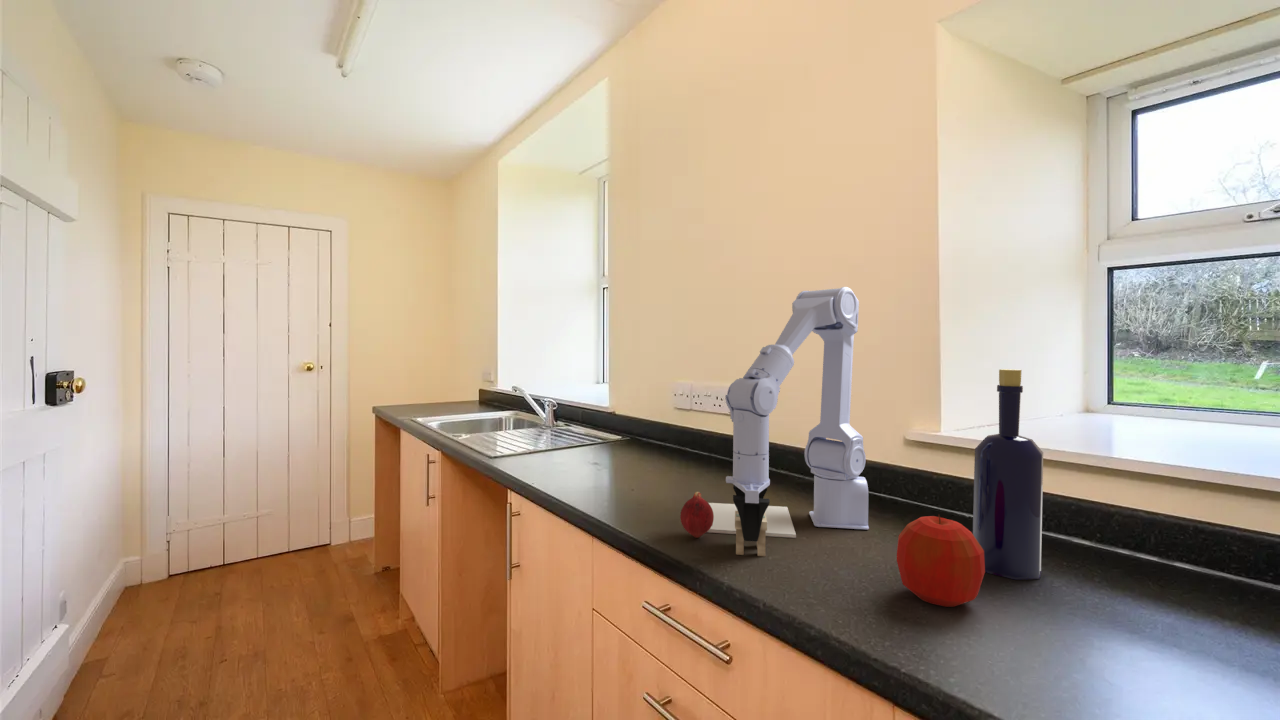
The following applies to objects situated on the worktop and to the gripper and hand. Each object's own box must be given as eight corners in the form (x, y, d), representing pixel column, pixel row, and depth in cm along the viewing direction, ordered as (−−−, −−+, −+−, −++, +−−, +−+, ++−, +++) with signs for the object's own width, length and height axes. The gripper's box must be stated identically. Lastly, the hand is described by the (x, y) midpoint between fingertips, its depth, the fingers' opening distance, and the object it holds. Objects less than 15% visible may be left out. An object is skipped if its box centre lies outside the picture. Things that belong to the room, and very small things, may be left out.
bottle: (1030, 559, 84) (1035, 368, 83) (1054, 584, 75) (1059, 371, 74) (963, 552, 87) (967, 367, 86) (979, 575, 78) (983, 370, 77)
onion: (712, 545, 90) (712, 498, 90) (678, 542, 91) (678, 496, 91) (714, 533, 95) (714, 488, 95) (682, 530, 97) (682, 487, 96)
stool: (764, 545, 90) (765, 511, 90) (766, 557, 85) (766, 521, 85) (734, 543, 91) (734, 510, 90) (734, 554, 86) (734, 519, 86)
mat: (787, 509, 109) (787, 506, 109) (795, 537, 93) (795, 534, 93) (708, 505, 112) (708, 502, 112) (703, 532, 96) (703, 528, 96)
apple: (898, 610, 68) (900, 520, 68) (892, 578, 77) (894, 499, 77) (992, 626, 64) (994, 531, 64) (974, 590, 73) (975, 507, 73)
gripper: (726, 442, 95) (726, 518, 95) (725, 460, 81) (724, 549, 81) (767, 444, 94) (766, 520, 94) (773, 462, 80) (772, 552, 80)
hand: (750, 534), depth 88 cm, fingers closed on stool, 5 cm apart
